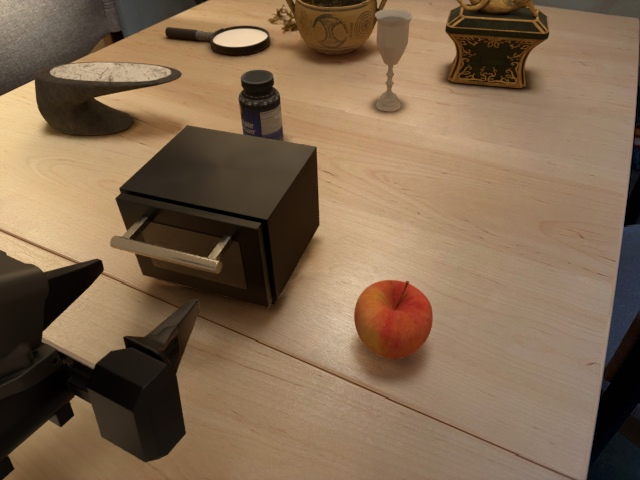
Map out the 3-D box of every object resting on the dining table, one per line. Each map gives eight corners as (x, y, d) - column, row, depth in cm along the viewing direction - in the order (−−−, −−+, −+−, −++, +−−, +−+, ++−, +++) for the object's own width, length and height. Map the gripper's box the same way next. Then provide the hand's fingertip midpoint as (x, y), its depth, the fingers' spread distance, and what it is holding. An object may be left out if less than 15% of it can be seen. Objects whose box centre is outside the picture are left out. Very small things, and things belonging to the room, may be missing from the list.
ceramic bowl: (275, 63, 105) (267, -18, 95) (290, 32, 117) (285, -42, 107) (387, 67, 102) (392, -16, 92) (391, 34, 114) (395, -42, 104)
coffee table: (38, 134, 86) (14, 79, 80) (64, 108, 93) (44, 56, 86) (183, 141, 83) (170, 85, 77) (200, 115, 90) (190, 61, 83)
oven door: (250, 341, 51) (234, 262, 44) (118, 304, 55) (85, 226, 48) (272, 301, 54) (262, 222, 47) (147, 269, 58) (120, 192, 51)
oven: (279, 314, 56) (267, 219, 47) (150, 280, 60) (118, 188, 52) (320, 237, 65) (316, 146, 56) (206, 212, 69) (186, 124, 61)
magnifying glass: (182, 27, 121) (180, 17, 120) (278, 36, 115) (278, 26, 114) (153, 47, 113) (151, 37, 111) (255, 59, 107) (254, 48, 105)
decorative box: (533, 69, 99) (562, -47, 86) (534, 92, 92) (566, -31, 79) (426, 61, 103) (438, -51, 90) (420, 82, 96) (432, -36, 83)
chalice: (411, 110, 89) (420, 18, 79) (380, 116, 87) (385, 24, 77) (395, 94, 93) (401, 6, 83) (365, 100, 92) (368, 11, 82)
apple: (338, 345, 53) (337, 290, 47) (385, 305, 56) (390, 250, 51) (395, 389, 49) (402, 335, 43) (442, 343, 52) (453, 288, 47)
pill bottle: (238, 141, 83) (227, 74, 75) (271, 129, 85) (264, 63, 78) (256, 158, 79) (248, 89, 71) (291, 145, 81) (286, 77, 74)
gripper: (9, 423, 19) (250, 226, 31) (-245, 265, 26) (31, 153, 38) (75, 569, 25) (255, 359, 37) (-143, 411, 32) (67, 276, 44)
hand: (147, 283), depth 39 cm, fingers open, 9 cm apart
